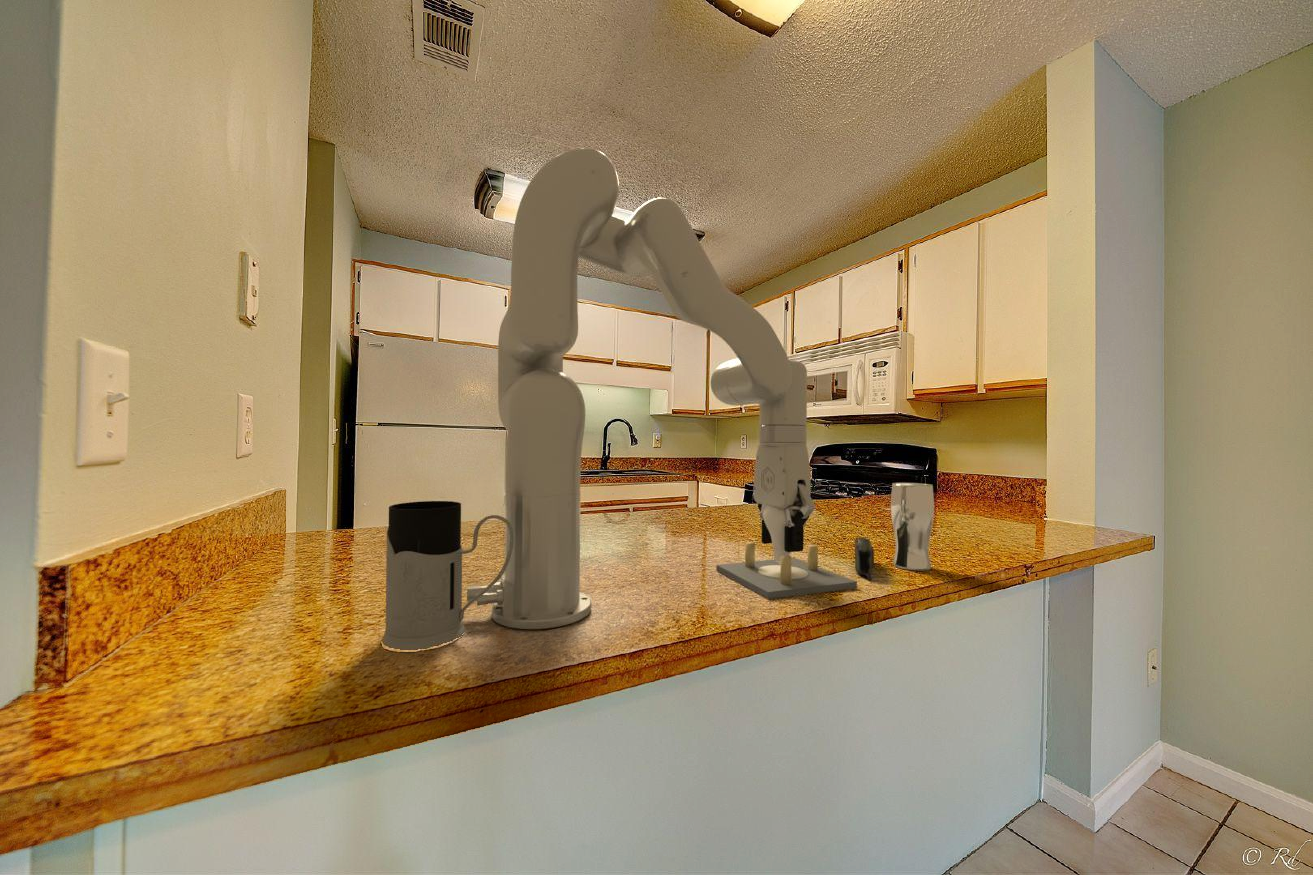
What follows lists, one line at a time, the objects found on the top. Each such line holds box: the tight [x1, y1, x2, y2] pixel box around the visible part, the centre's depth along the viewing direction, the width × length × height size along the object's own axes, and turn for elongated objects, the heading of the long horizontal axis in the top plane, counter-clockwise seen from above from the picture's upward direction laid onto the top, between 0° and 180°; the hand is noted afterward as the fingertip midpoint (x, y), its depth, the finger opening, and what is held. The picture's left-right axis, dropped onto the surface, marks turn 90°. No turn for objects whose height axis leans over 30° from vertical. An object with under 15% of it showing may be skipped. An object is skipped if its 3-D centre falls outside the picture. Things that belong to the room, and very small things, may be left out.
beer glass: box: [890, 482, 935, 572], centre depth 87 cm, size 7×7×15 cm
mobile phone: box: [854, 537, 875, 581], centre depth 85 cm, size 5×3×15 cm
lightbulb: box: [763, 503, 797, 564], centre depth 79 cm, size 6×6×11 cm
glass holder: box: [381, 500, 514, 650], centre depth 55 cm, size 9×14×15 cm, turn 95°
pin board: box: [715, 541, 858, 600], centre depth 79 cm, size 16×16×5 cm
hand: (781, 545), depth 79 cm, fingers closed on lightbulb, 5 cm apart
